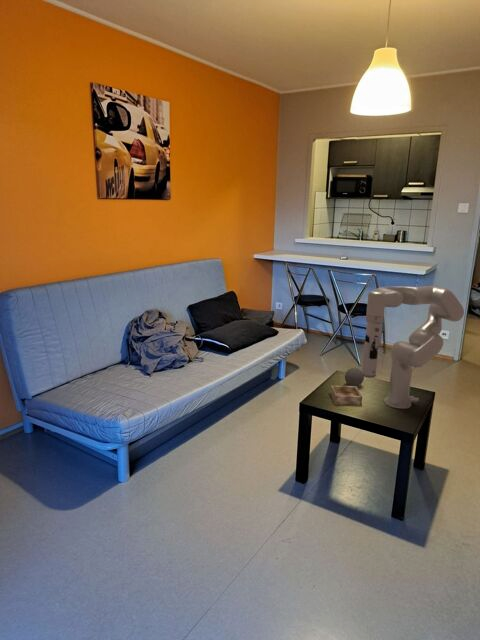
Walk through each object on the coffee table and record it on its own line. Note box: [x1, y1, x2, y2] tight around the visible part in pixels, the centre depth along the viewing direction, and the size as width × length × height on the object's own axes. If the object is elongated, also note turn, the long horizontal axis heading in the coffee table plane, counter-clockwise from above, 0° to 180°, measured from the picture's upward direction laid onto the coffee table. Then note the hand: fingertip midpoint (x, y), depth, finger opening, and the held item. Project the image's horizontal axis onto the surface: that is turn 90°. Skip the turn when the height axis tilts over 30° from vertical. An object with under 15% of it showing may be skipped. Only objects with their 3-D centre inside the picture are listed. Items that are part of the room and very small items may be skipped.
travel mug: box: [361, 334, 380, 379], centre depth 206 cm, size 6×7×20 cm
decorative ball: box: [344, 367, 365, 387], centre depth 241 cm, size 10×10×10 cm
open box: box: [329, 385, 363, 406], centre depth 224 cm, size 13×13×4 cm
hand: (371, 355), depth 206 cm, fingers closed on travel mug, 6 cm apart
